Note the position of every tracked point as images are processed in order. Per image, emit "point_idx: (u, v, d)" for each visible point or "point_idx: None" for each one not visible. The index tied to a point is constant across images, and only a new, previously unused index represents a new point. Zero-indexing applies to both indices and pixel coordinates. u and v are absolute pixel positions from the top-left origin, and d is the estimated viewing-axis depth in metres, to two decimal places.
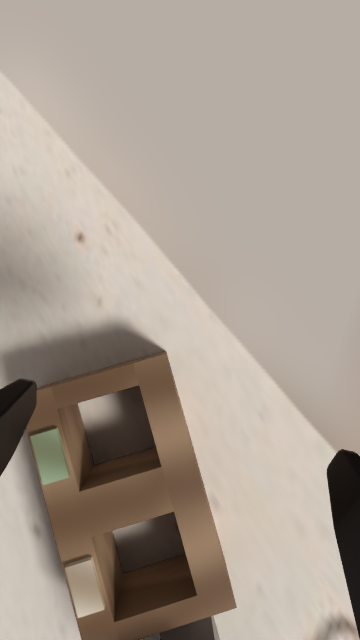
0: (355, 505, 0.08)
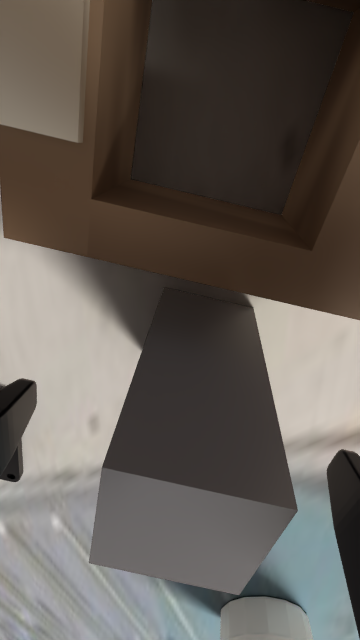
0: (355, 505, 0.08)
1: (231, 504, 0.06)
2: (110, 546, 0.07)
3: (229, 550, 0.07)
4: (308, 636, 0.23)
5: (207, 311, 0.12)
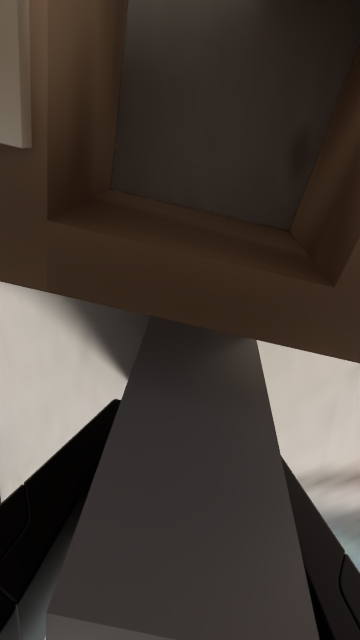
0: None
1: None
2: None
3: None
4: None
5: (202, 343, 0.10)
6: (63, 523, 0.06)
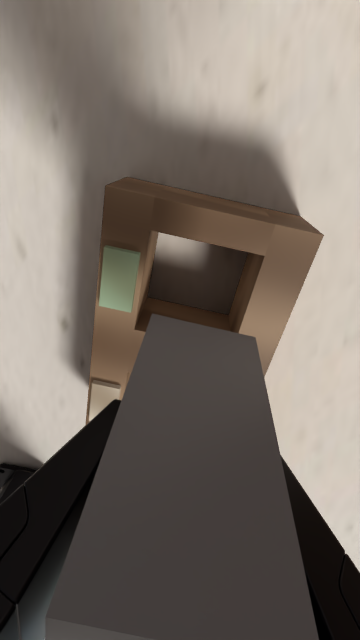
0: None
1: None
2: None
3: None
4: None
5: (202, 344, 0.10)
6: (63, 523, 0.06)
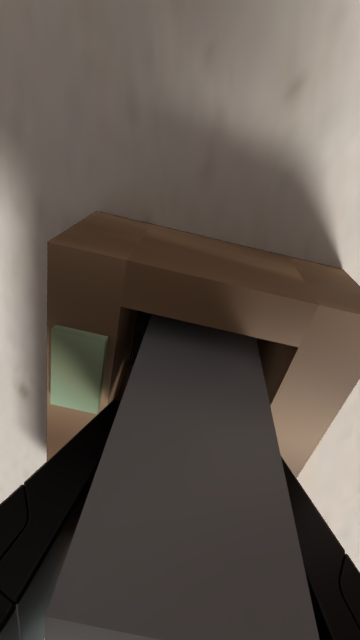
0: None
1: None
2: None
3: None
4: None
5: (202, 343, 0.10)
6: (63, 523, 0.06)
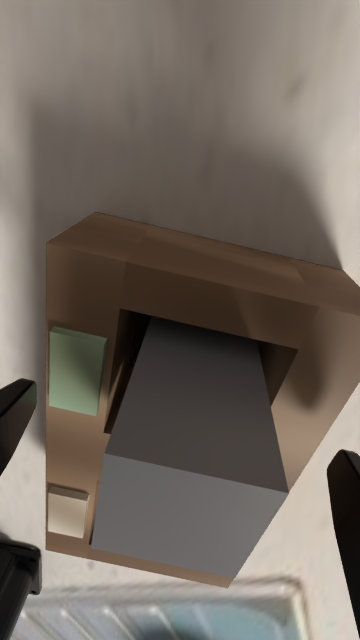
0: (355, 505, 0.08)
1: (226, 488, 0.06)
2: (111, 530, 0.07)
3: (224, 533, 0.07)
4: None
5: None
6: None
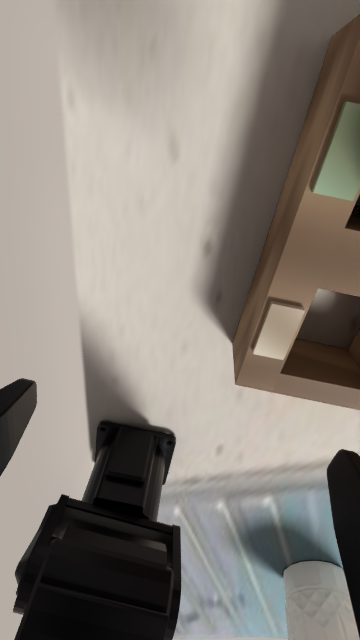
0: (355, 505, 0.08)
1: None
2: None
3: None
4: None
5: None
6: None
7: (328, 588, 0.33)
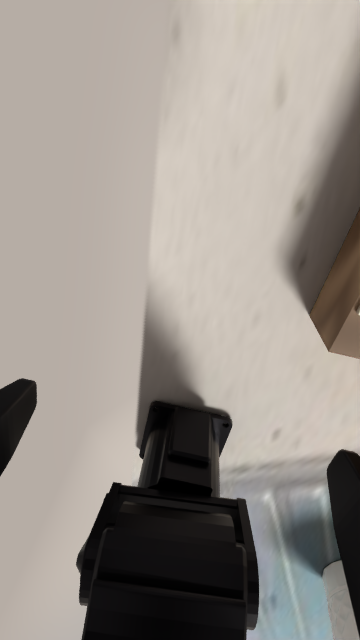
0: (355, 505, 0.08)
1: None
2: None
3: None
4: None
5: None
6: None
7: None
